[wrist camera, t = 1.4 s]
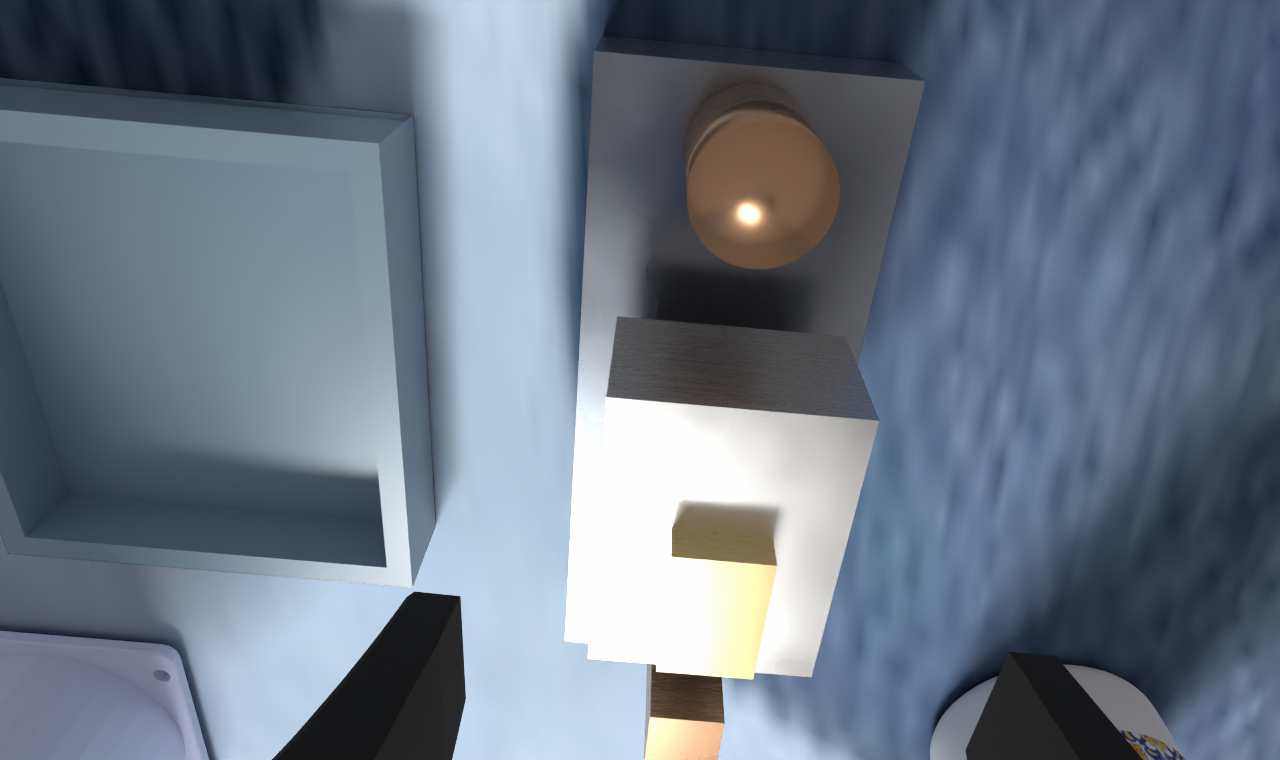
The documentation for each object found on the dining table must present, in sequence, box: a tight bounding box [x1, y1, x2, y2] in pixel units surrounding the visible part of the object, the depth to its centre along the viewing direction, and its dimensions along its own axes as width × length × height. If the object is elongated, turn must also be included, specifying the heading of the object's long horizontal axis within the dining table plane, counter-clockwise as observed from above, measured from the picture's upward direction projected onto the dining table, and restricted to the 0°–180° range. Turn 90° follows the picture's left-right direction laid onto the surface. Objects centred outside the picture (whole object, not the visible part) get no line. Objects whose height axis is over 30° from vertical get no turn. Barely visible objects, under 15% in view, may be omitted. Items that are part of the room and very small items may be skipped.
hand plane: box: [565, 36, 925, 760], centre depth 18 cm, size 15×6×6 cm, turn 175°
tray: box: [0, 78, 436, 587], centre depth 19 cm, size 11×10×2 cm
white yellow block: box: [588, 316, 879, 680], centre depth 16 cm, size 6×4×4 cm
